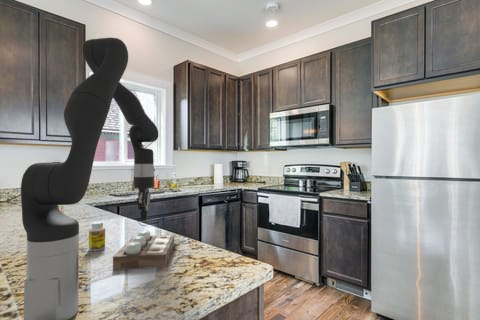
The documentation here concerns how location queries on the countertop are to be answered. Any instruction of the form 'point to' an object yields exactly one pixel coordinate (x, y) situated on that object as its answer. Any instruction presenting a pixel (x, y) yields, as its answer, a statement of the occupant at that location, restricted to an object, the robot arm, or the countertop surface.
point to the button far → (145, 234)
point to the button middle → (140, 240)
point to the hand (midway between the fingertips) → (144, 220)
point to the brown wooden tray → (146, 254)
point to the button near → (133, 248)
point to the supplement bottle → (96, 236)
